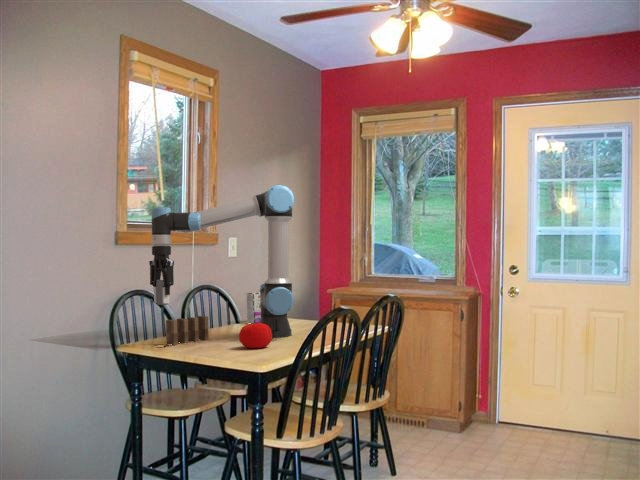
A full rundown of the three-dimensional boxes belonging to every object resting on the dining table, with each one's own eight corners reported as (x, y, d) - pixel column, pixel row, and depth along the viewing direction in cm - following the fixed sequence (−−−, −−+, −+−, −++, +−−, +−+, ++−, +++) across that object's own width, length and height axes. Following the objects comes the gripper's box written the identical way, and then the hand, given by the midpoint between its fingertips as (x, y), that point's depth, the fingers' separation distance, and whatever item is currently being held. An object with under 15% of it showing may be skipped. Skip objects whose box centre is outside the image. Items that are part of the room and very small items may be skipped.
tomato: (274, 348, 240) (274, 321, 240) (241, 351, 236) (241, 323, 236) (268, 344, 250) (268, 318, 250) (236, 347, 247) (236, 320, 247)
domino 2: (177, 344, 257) (177, 320, 257) (174, 345, 255) (173, 320, 256) (169, 344, 260) (169, 319, 260) (166, 344, 259) (165, 320, 259)
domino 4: (198, 341, 265) (198, 317, 266) (195, 342, 264) (194, 318, 264) (190, 340, 269) (190, 317, 269) (187, 341, 267) (187, 317, 267)
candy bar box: (260, 322, 332) (259, 291, 333) (267, 322, 330) (267, 291, 330) (246, 324, 323) (246, 292, 323) (254, 325, 320) (253, 293, 320)
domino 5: (208, 339, 270) (208, 316, 270) (205, 340, 268) (204, 316, 268) (200, 339, 273) (200, 315, 273) (197, 339, 271) (197, 316, 272)
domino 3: (188, 343, 261) (187, 319, 261) (184, 343, 260) (184, 319, 260) (180, 342, 264) (180, 318, 264) (177, 342, 263) (176, 318, 263)
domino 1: (167, 304, 254) (167, 279, 254) (163, 305, 253) (163, 280, 253) (160, 304, 257) (159, 279, 258) (156, 304, 256) (156, 279, 256)
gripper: (140, 245, 258) (140, 302, 258) (167, 245, 247) (167, 304, 246) (155, 245, 264) (156, 301, 264) (182, 245, 253) (183, 303, 252)
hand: (161, 302), depth 255 cm, fingers closed on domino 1, 5 cm apart
